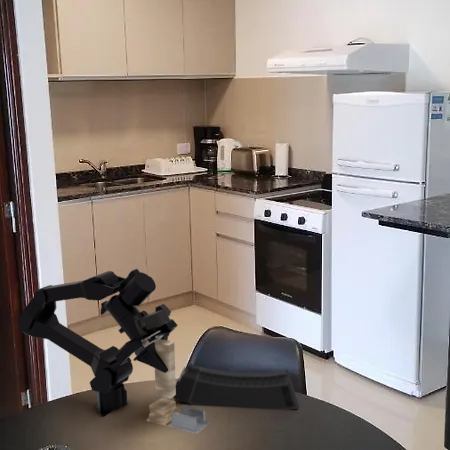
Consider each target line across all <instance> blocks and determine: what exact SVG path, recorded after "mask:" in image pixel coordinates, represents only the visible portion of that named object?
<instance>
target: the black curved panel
mask: <svg viewBox="0 0 450 450" xmlns="http://www.w3.org/2000/svg"><path fill="white" fill-rule="evenodd" d="M175 383H176V395H175V396H173V397H172V398H173V399H175V400H177V401H180V402H183V403H186V404H190V405H195V406H206V407H207V406H208V407H227V408H244V409H245V408H249V409H267V410H298V409H299V408H300V407H299V406H300V405H299V401H298V398H297V394H296V392H295V389H294V385H293V381H292V379H291V375H290V373H289V369H288V368H287V369H284V370H280V371H272V372H232V371H222V370H217V369H211V368H207V367H202V366H201V365H200V366H198V365H194V364H193V363H192V362H189V363H188V365H187V368H186V366H184V367H183V368H182V370H181V372H180V375H179V377H178V379H177V381H176V382H175Z"/></svg>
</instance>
